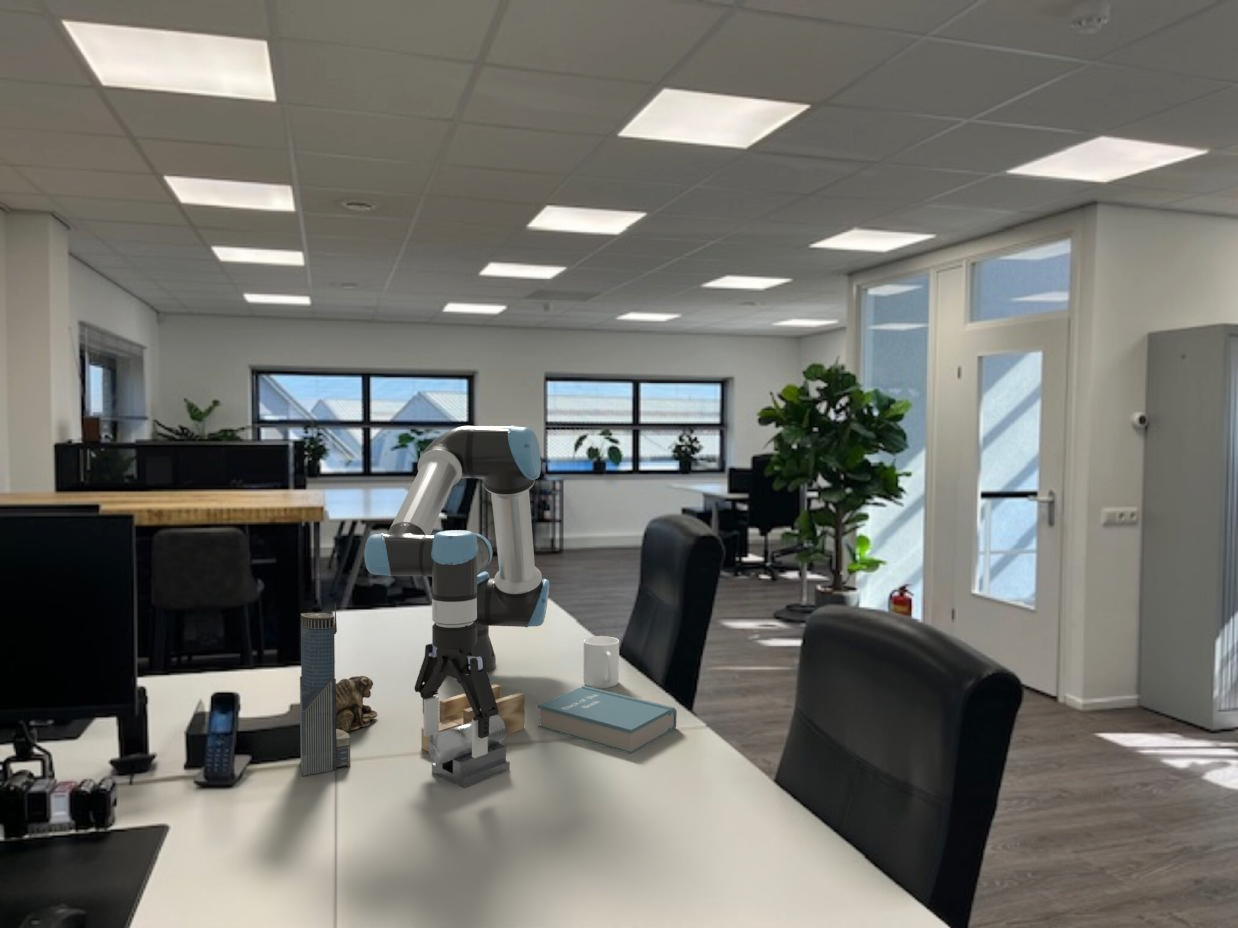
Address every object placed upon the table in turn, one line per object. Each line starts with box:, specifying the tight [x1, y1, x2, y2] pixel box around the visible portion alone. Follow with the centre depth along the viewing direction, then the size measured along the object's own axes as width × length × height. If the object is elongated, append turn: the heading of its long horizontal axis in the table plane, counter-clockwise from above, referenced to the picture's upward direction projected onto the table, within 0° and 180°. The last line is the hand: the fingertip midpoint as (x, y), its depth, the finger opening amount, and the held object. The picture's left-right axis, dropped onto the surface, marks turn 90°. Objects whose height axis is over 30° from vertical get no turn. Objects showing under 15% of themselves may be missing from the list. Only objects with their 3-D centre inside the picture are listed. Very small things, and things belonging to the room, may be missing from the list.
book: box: [537, 685, 677, 755], centre depth 169 cm, size 23×16×5 cm
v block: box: [431, 743, 511, 788], centre depth 147 cm, size 10×9×4 cm
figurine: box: [336, 675, 379, 732], centre depth 167 cm, size 6×14×10 cm, turn 137°
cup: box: [582, 635, 620, 689], centre depth 196 cm, size 8×12×10 cm
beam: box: [420, 684, 526, 753], centre depth 164 cm, size 20×9×7 cm, turn 138°
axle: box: [428, 715, 507, 764], centre depth 147 cm, size 13×5×5 cm, turn 138°
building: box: [299, 604, 351, 777], centre depth 148 cm, size 10×9×30 cm
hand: (454, 744), depth 145 cm, fingers open, 13 cm apart
